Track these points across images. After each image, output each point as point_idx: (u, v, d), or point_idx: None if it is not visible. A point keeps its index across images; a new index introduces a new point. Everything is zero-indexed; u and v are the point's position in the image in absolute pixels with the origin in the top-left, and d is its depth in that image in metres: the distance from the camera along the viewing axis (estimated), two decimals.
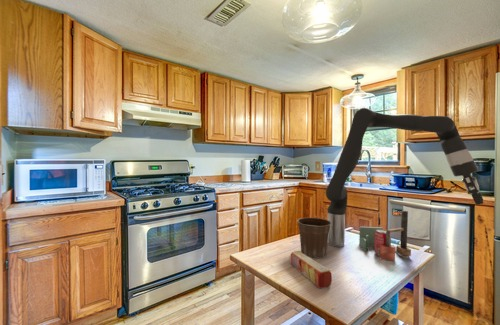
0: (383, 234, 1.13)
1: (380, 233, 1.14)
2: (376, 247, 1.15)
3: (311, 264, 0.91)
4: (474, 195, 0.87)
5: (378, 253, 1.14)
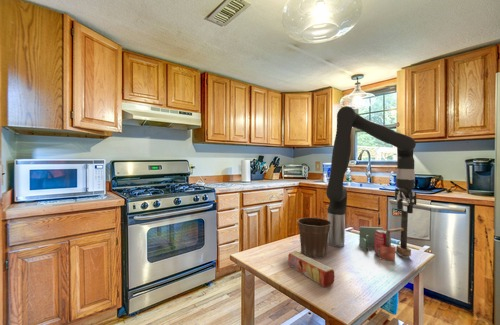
0: (383, 234, 1.13)
1: (380, 233, 1.14)
2: (376, 247, 1.15)
3: (313, 264, 0.92)
4: (410, 206, 1.10)
5: (378, 253, 1.14)
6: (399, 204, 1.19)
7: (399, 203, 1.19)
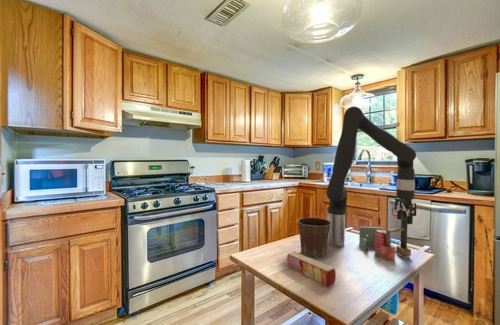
0: (383, 234, 1.13)
1: (380, 233, 1.14)
2: (376, 247, 1.15)
3: (314, 264, 0.92)
4: (410, 217, 1.10)
5: (378, 253, 1.14)
6: (399, 214, 1.19)
7: (399, 213, 1.19)
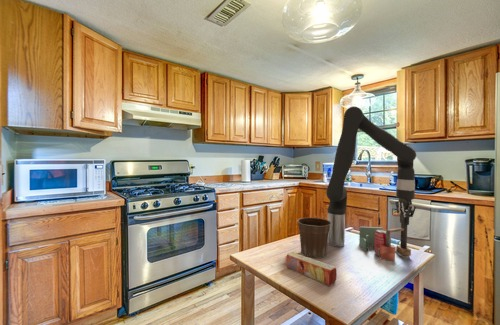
0: (383, 234, 1.13)
1: (380, 233, 1.14)
2: (376, 247, 1.15)
3: (315, 263, 0.92)
4: (407, 218, 1.12)
5: (378, 253, 1.14)
6: None
7: None
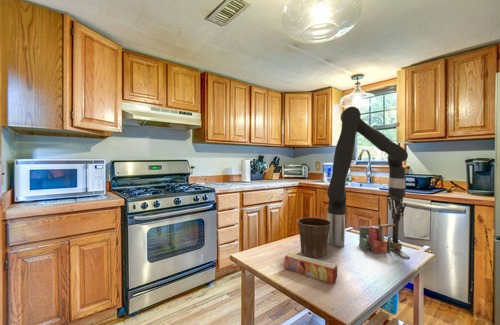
0: (376, 229, 1.21)
1: (373, 228, 1.21)
2: (370, 242, 1.23)
3: (317, 263, 0.92)
4: (398, 214, 1.20)
5: (372, 247, 1.22)
6: None
7: None
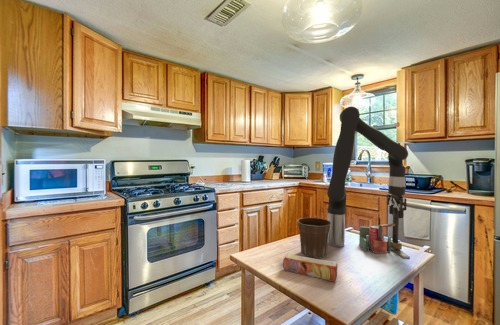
0: (376, 229, 1.21)
1: (373, 228, 1.22)
2: (370, 242, 1.23)
3: (318, 262, 0.93)
4: (400, 211, 1.18)
5: (371, 247, 1.22)
6: (391, 209, 1.27)
7: (391, 208, 1.27)
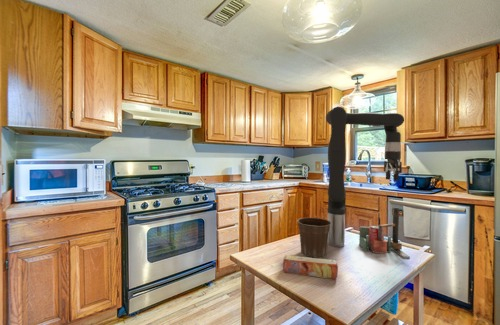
0: (376, 229, 1.21)
1: (373, 228, 1.22)
2: (370, 242, 1.23)
3: (319, 261, 0.94)
4: (396, 174, 1.24)
5: (371, 247, 1.22)
6: (387, 175, 1.33)
7: (387, 174, 1.33)
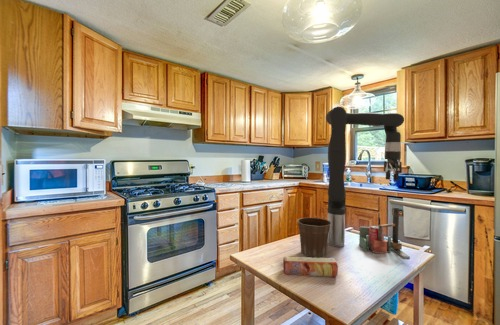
0: (376, 229, 1.21)
1: (373, 228, 1.22)
2: (370, 242, 1.23)
3: (319, 261, 0.94)
4: (396, 174, 1.24)
5: (371, 247, 1.22)
6: (387, 175, 1.33)
7: (387, 174, 1.33)
